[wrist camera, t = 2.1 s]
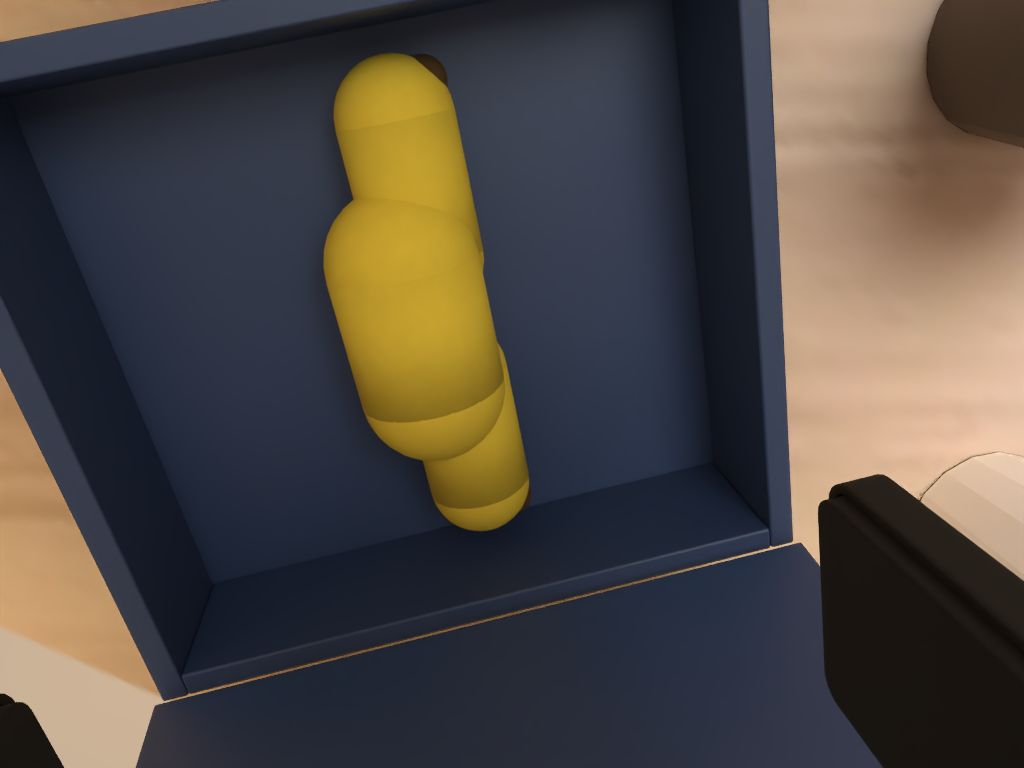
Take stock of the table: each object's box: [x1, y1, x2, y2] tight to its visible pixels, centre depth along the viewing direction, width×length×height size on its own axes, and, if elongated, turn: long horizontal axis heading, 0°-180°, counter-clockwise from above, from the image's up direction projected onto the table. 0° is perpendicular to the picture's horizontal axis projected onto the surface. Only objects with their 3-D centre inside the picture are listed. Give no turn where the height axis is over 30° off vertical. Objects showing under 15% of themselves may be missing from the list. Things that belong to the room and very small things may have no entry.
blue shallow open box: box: [0, 0, 793, 701], centre depth 21 cm, size 16×18×5 cm
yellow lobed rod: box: [323, 53, 532, 531], centre depth 20 cm, size 14×4×4 cm, turn 11°
